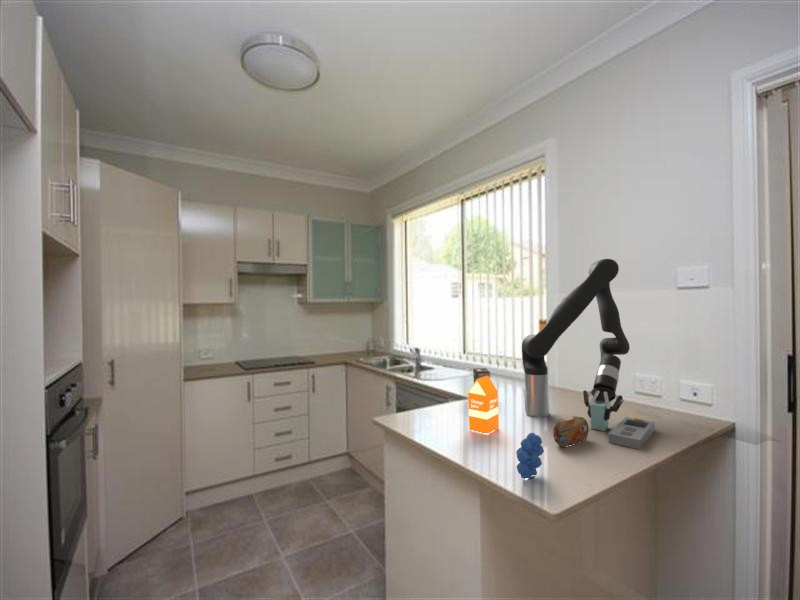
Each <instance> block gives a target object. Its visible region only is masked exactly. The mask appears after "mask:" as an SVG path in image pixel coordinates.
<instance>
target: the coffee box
mask: <svg viewBox="0 0 800 600" xmlns="http://www.w3.org/2000/svg"><path fill="white" fill-rule="evenodd" d="M472 369H473V370H472V371H473V384H474V383H475V382H476V379H479V378H482V377H485V376H489V378H490V379H491V372H490V370H489V369H488V368H486V367H480V368H479V367H476V368H472Z"/></svg>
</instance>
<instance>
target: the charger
mask: <svg viewBox="0 0 800 600" xmlns="http://www.w3.org/2000/svg"><path fill="white" fill-rule="evenodd" d="M606 405H607V404H606V403H602V402H593V403H591V404H590V411H591V418H590V428H591V429H593V430H597V431H603V432H605V431H607V430H608V429H609V420H607V421H605V420H604V414H605V410H606Z"/></svg>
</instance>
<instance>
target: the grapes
mask: <svg viewBox="0 0 800 600" xmlns="http://www.w3.org/2000/svg"><path fill="white" fill-rule="evenodd" d="M542 443H543V441H542V438H541V436H540V435H538V434H536V433H533V432H529V433H528V434H527V436H526V438H524V439H522V440H521V442H520V446H521V447H519V448H518V449H517V450H516V451H515V453H516V459H517V460H518V464H517V465H516V469H517V472H518V474H519V475H520V477H521V479H522V478H524V479H525V478H530V479H532V478H531V476H532V475H536V476H537V474H538V471H537V470H538V469H539V468H540V467H541V465H543V462H542V459H541V458H540V457H541V455H543V453H544V452H545V451H544V447H543V446H542Z"/></svg>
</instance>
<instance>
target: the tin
mask: <svg viewBox="0 0 800 600" xmlns="http://www.w3.org/2000/svg"><path fill="white" fill-rule="evenodd" d="M552 430H553V431H552V432H553V440H554V442H555V443H556V444H557V445H559V446H561V447H563V448H567V447H566V446H569V445H573V444H576V443H578V444H580V443H579V442H581V443H583V441H584V442H585V440H587V438H588V436H589V431H590V430H589V424H588V421H587V419H586V418H584V417H582V416H576V415H575V416H570V417H567V418H564V419H561V420H558V421H557V422H556V423H555V424H554V426H553V428H552ZM576 445H577V444H576ZM573 446H574V445H573Z"/></svg>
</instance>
